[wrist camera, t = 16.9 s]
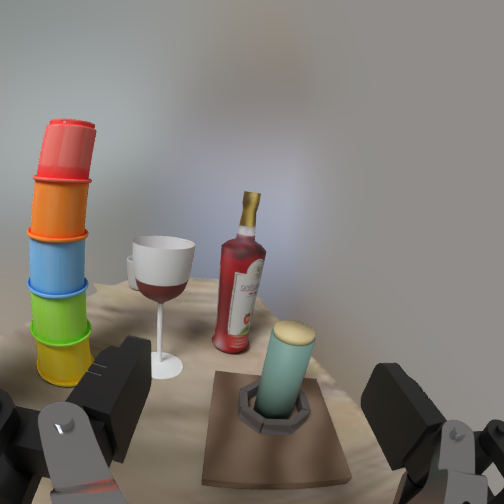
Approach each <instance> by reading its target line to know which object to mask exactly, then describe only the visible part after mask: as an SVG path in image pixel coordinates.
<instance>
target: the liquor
mask: <svg viewBox="0 0 504 504" xmlns="http://www.w3.org/2000/svg"><path fill="white" fill-rule="evenodd" d="M260 196H261V194H259V193H252V192H246V191H245V192H244V197H243V212H242V216H241V220H240V224H239V229H238V233H237V237H236V238H235V239H232V240H229V241H227V242H225V243H224V244H223V245H222V249H221V262H220V272H219V289H218V304H217V317H216V329H215V335H214V336H213V337H212V342H213V343H214V345H215V346H216V347H217V348H218V349H219V350H221V351H222V352H225V353H229V354H234V353H238V352H240V351H242V350H244V349H246V348H247V347H248V346H249V341H248V334H249V329H250V324H251V319H252V314H253V310H254V305H255V300H256V296H257V292H258V288H259V284H260V279H261V275H262V270H263V265H264V260H265V255H266V251H265V249H264V248H263V247H262V246H261V245H260V244H258V243H257V242H255V226H256V212H257V209H258V206H259V202H260Z"/></svg>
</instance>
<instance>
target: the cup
mask: <svg viewBox="0 0 504 504" xmlns="http://www.w3.org/2000/svg"><path fill="white" fill-rule="evenodd" d="M127 270H128V281H129V285H130V287H131V288H132V289H135V290H139V289H138V287H137V284H136V280H135V274H134V267H133V255H131V256H129V257H128V258H127Z"/></svg>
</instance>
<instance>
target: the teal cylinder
mask: <svg viewBox="0 0 504 504" xmlns="http://www.w3.org/2000/svg"><path fill="white" fill-rule="evenodd" d="M314 343H315V331H314V330H313V329H312V328H311V327H310V326H308V325H306V324H304V323H301V322H297V321H291V320H284V321H279V322H277V323H276V324H275V326H274V329H273V330H272V331H271V336H270V340H269V345H268V349H267V354H266V358H265V362H264V367H263V371H262V375H261V379H260V383H259V387H258V392H257V396H256V400H255V404H254V408H253V410H254V411H255V412H257V413H258V414H259V415H261V416H262V417H264V418H265V419H284V420H288V419H289V418H290V416H291V413H292V410H293V407H294V405H295V402H296V399H297V396H298V393H299V390H300V388H301V385H302V382H303V379H304V376H305V373H306V369H307V366H308V363H309V360H310V357H311V354H312V350H313V347H314Z"/></svg>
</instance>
